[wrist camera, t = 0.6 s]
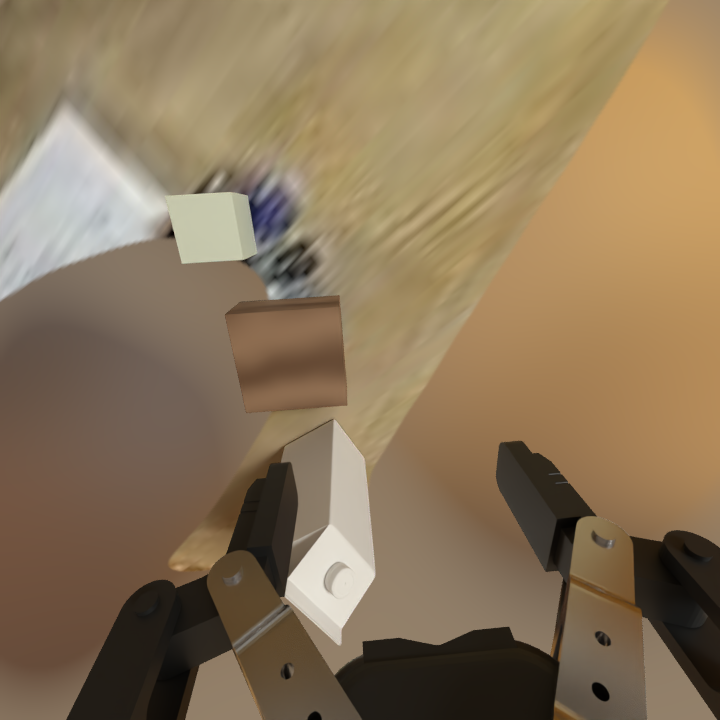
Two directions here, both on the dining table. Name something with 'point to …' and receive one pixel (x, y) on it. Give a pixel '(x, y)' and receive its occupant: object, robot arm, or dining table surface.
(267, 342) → the walnut block
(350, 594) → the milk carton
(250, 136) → the dining table surface
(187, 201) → the sage cube
